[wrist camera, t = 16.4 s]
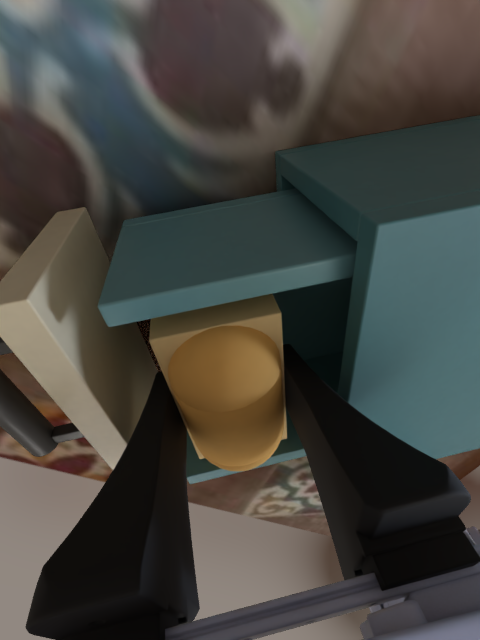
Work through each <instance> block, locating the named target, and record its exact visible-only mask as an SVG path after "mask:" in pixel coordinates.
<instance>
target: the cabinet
mask: <svg viewBox="0 0 480 640" xmlns="http://www.w3.org/2000/svg"><path fill="white" fill-rule="evenodd" d="M275 161H276V184H277V192H278V191H284V190H289V189H294V188H297V189H298V190H299V191H300V192H301V193H302V194H303V195H305V196H306V197H307V198H308V199H309V200H310V201H311V202H312V203H314V204H315V205H316V206H317V207H318V208H319V209H320V210H321V211H323V212H324V213H325V214H326V215H327V216H328V217H329V218H330V219H332V220H333V221H334V222H335V223H336V224H337V225H338V226H340V227H341V228H342V229H343V230H344V231H345V232H346V233H347V234H349V235H350V236H351V237H352V238H353V239H354V240H355V241H358V243H357V250H356V258H355V266H354V273H353V281H352V289H351V296H350V304H349V312H348V319H347V327H346V335H345V342H344V350H343V358H342V365H341V373H340V381H339V388H338V395H339V396H341V397H342V398H343V399H344V400H345V401H347V402H348V403H349V404H350V405H351V406H353V407H354V408H355V409H357V410H358V411H359V412H361V413H362V414H363V415H365V416H366V417H367V418H369V419H370V420H371V421H373V422H374V423H376V424H377V425H379V426H380V427H382V428H383V429H385V430H387V431H388V432H390V433H391V434H393V435H394V436H396V437H397V438H399V439H401V440H402V441H404V442H406V443H407V444H409V445H411V446H412V447H414V448H416V449H418V450H419V451H421V452H423V453H425V454H427V455H428V456H430V457H432V458H434V459H438V458H442V457H446V456H450V455H454V454H458V453H462V452H466V451H470V450H474V449H478V448H480V115H478V116H472V117H466V118H461V119H455V120H449V121H444V122H438V123H433V124H427V125H421V126H416V127H410V128H404V129H399V130H393V131H388V132H382V133H376V134H371V135H365V136H359V137H354V138H348V139H343V140H337V141H331V142H326V143H320V144H315V145H309V146H303V147H298V148H292V149H286V150H281V151H276V152H275Z"/></svg>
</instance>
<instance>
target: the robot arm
mask: <svg viewBox="0 0 480 640" xmlns="http://www.w3.org/2000/svg"><path fill="white" fill-rule="evenodd" d="M283 356H284V378H285V400H286V408H287V410H288V413H289V415H290V417H291V420H292V422H293V424H294V427H295V429H296V431H297V434H298V436H299V438H300V441H301V443H302V445H303V448H304V450H305V453H306V456H307V458H308V461H309V464H310V467H311V471H312V474H313V477H314V480H315V483H316V486H317V489H318V492H319V496H320V499H321V502H322V505H323V509H324V512H325V515H326V519H327V522H328V525H329V528H330V532H331V535H332V539H333V542H334V546H335V549H336V553H337V556H338V559H339V563H340V566H341V570H342V574H343V577H344V581H341V582H337V583H334V584H330V585H326V586H322V587H318V588H315V589H311V590H307V591H304V592H300V593H296V594H292V595H289V596H285V597H281V598H278V599H274V600H270V601H267V602H263V603H259V604H256V605H252V606H248V607H244V608H241V609H237V610H234V611H230V612H226V613H222V614H219V615H215V616H211V617H208V618H204V619H200V620H196V621H193V620H194V619H195V617H196V615H197V613H198V611H199V609H200V608H199V600H198V593H197V584H196V575H195V568H194V558H193V549H192V540H191V529H190V519H189V509H188V496H187V479H186V466H187V429H186V426H185V424H184V422H183V419H182V417H181V415H180V412H179V410H178V408H177V405H176V403H175V401H174V398H173V396H172V394H171V391H170V389H169V387H168V384H167V382H166V380H165V377H164V375H163V373H162V371H161V372H157V374H156V375H155V379H154V382H153V385H152V388H151V391H150V394H149V396H148V399H147V402H146V404H145V407H144V409H143V411H142V414H141V416H140V419H139V421H138V423H137V425H136V428H135V430H134V432H133V434H132V436H131V438H130V440H129V442H128V444H127V446H126V448H125V450H124V452H123V454H122V456H121V457H120V459H119V461H118V463H117V464H116V466H115V468H114V470H113V471H112V473H111V475H110V476H109V478H108V479H107V481H106V483H105V484H104V486H103V487H102V489H101V491H100V492H99V494H98V495H97V497H96V498H95V499H94V501H93V502H92V504H91V505H90V506H89V508H88V509H87V511H86V512H85V513H84V515H83V516H82V518H81V519H80V520H79V522H78V523H77V525H76V526H75V527H74V529H73V530H72V531H71V533H70V534H69V535H68V536H67V538H66V539H65V540H64V541H63V543H62V544H61V545H60V546H59V548H58V549H57V550H56V551H55V552H54V554H53V555H52V556H51V557H50V559H49V560H48V561H47V562H46V564H45V565H44V566H43V568H42V572H41V575H40V577H39V580H38V583H37V586H36V589H35V593H34V596H33V600H32V604H31V608H30V612H29V616H28V619H27V624H26V629H27V631H28V632H29V633H30V634H33V635H36V636H41V637H46V638H50V639H55V640H253V639H257V638H260V637H264V636H268V635H271V634H275V633H278V632H282V631H286V630H289V629H293V628H296V627H300V626H304V625H307V624H311V623H314V622H318V621H322V620H325V619H329V618H332V617H336V616H340V615H343V614H347V613H350V612H354V611H358V610H361V609H365V608H368V607H369V609H370V611H371V614H368V616H367V620H366V621H365V622H363V623H361V625H360V629H361V632H362V635H363V638H364V639H363V640H480V530H477V528H476V527H474V526H472V527H470V528H467V530H466V528H465V525H464V524H463V522H462V521H461V519H460V518H459V515H460V514H461V512H462V511H463V510H464V509H465V508H466V507H467V506H468V504H469V503H470V500H471V496H470V494H469V492H468V491H467V490H466V488H465V487H464V485H463V484H462V483H461V481H460V480H459V479H458V478H457V477H456V475H455V474H454V473H453V472H452V471H451V470H450V469H449V467H448V466H447V465H446V464H444V463H442V462H440V461H438V460H436V459H434V458H432V457H430V456H428V455H427V454H425V453H423V452H421V451H419V450H418V449H416V448H414V447H412V446H411V445H409V444H407V443H406V442H404V441H402V440H401V439H399V438H397V437H396V436H394V435H393V434H391V433H390V432H388V431H387V430H385V429H383V428H382V427H380V426H379V425H377V424H376V423H374V422H373V421H371V420H370V419H369V418H367V417H366V416H365V415H363V414H362V413H361V412H359V411H358V410H357V409H355V408H354V407H353V406H351V405H350V404H349V403H348V402H347V401H345V400H344V399H343V398H342V397H341V396H339V395H338V394H337V393H336V392H335V391H334V390H333V389H332V388H330V387H329V386H328V385H327V384H326V383H325V382H324V381H323V380H322V379H321V378H320V377H319V376H318V375H317V374H316V373H315V372H314V371H313V370H312V369H311V368H310V367H309V366H308V364H307V363H306V362H305V361H304V360H303V359H302V358H301V357H300V355H299V354H298V353H297V352H296V351H295V349H294V348H293V347H292V345H290V344H284V345H283ZM467 531H468V532H467ZM469 534H470V535H469ZM470 536H471V537H470ZM472 539H473V540H472ZM192 621H193V622H192Z"/></svg>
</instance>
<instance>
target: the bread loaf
mask: <svg viewBox="0 0 480 640" xmlns="http://www.w3.org/2000/svg"><path fill="white" fill-rule="evenodd" d="M149 342H150V344H151V347H152V349H153V352H154V354H155V356H156V359H157V361H158V363H159V366H160V368H161V370H162V373H163V375H164V377H165V380H166V382H167V384H168V387H169V389H170V391H171V394H172V396H173V398H174V401H175V403H176V405H177V408H178V410H179V412H180V415H181V417H182V419H183V422H184V424H185V426H186V429H187V431H188V433H189V436H190V438H191V440H192V443H193V445H194V447H195V450H196V452H197V454H198V457H199V459H203V458H206V459H207V460H208V461H209V462H210V463H212V464H214V465H216V466H217V467H219V468H221V469H225V470H228V471H246V470H250V469H253V468H256V467H258V466H259V465H261V464H263V463H264V462H265V461H267V460H268V459H269V458H270V457H271V456H272V454H273V453H274V452H275V450H276V449H277V447H278V445H279V443H280V441H281V440H283V439H287V421H286V400H285V378H284V356H283V334H282V313H281V311H280V309H279V307H278V305H277V303H276V300H275V298H274V296H273V294H268V295H263V296H258V297H254V298H249V299H244V300H239V301H234V302H230V303H225V304H220V305H215V306H210V307H205V308H201V309H196V310H191V311H186V312H181V313H176V314H172V315H167V316H162V317H157V318H152V319H151V322H150V336H149Z"/></svg>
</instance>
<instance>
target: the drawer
mask: <svg viewBox="0 0 480 640" xmlns="http://www.w3.org/2000/svg"><path fill="white" fill-rule="evenodd" d="M357 243H358V241H355V240H354V239H353V238H352V237H351V236H350V235H349V234H347V233H346V232H345V231H344V230H343V229H342V228H341V227H340V226H338V225H337V224H336V223H335V222H334V221H333V220H332V219H330V218H329V217H328V216H327V215H326V214H325V213H324V212H323V211H321V210H320V209H319V208H318V207H317V206H316V205H315V204H314V203H312V202H311V201H310V200H309V199H308V198H307V197H306V196H305V195H303V194H302V193H301V192H300V191H299V190H298V189H297V188H294V189H289V190H284V191H278V192H273V193H268V194H262V195H257V196H252V197H246V198H241V199H235V200H230V201H225V202H219V203H214V204H209V205H203V206H198V207H192V208H187V209H182V210H176V211H171V212H166V213H160V214H155V215H150V216H144V217H139V218H133V219H128V220H124V221H123V224H122V228H121V231H120V234H119V237H118V241H117V244H116V247H115V250H114V254H113V257H112V260H111V263H110V261H109V259H108V257H107V255H106V252H105V250H104V248H103V245H102V243H101V241H100V239H99V236H98V234H97V232H96V230H95V227H94V225H93V223H92V220H91V218H90V216H89V214H88V211H87V209H86V208H85V207H82V208H77V209H71V210H66V211H60V212H57V213H56V214H55V215H54V216H53V217H52V219H51V220H50V221H49V222H48V224H47V225H46V226H45V227H44V228H43V230H42V231H41V232H40V233H39V235H38V236H37V237H36V238H35V239H34V241H33V242H32V243H31V244H30V246H29V247H28V248H27V249H26V250H25V252H24V253H23V254H22V255H21V257H20V258H19V259H18V260H17V262H16V263H15V264H14V265H13V266H12V268H11V269H10V270H9V271H8V273H7V274H6V275H5V276H4V277H3V279H2V280H1V281H0V355H3V354H8V353H14V354H15V355H16V356H17V357H18V358H19V360H20V361H21V362H22V363H23V364H24V366H25V367H26V368H27V369H28V370H29V372H30V373H31V374H32V375H33V376H34V377H35V379H36V380H37V381H38V382H39V383H40V385H41V386H42V387H43V388H44V389H45V391H46V392H47V393H48V394H49V395H50V396H51V398H52V399H53V400H54V401H55V402H56V404H57V405H58V406H59V407H60V408H61V410H62V411H63V412H64V413H65V414H66V415H67V417H68V418H69V419H70V420H71V421H72V423H70V424H65V425H61V426H56V427H53V425H52V424H51V423H50V422H49V421H48V420H47V419H46V418H45V417H44V416H43V415H42V414H41V413H40V411H39V410H38V409H37V408H36V407H35V406H34V405H33V404H32V403H31V402H30V401H29V400H28V398H27V397H26V396H25V395H24V394H23V393H22V392H21V391H20V390H19V389H18V388H17V387H16V386H15V384H14V383H13V382H12V381H11V380H10V379H9V378H8V377H7V376H6V375H5V374H4V373H3V371H2V370H1V369H0V426H1V427H2V428H3V429H4V430H5V431H6V432H7V433H9V434H10V435H11V436H12V437H13V438H14V439H15V440H16V441H18V442H19V443H20V444H21V445H22V446H23V447H24V448H25V449H27V450H28V451H29V452H30V453H31V454H32V455H34V456H37V457H40V456H44V455H46V454H48V453H50V452H51V451H53V450H54V449H55V448H56V446H57V445H58V443H60V442H65V441H69V440H73V439H78V438H82V437H85V438H86V439H87V440H88V442H89V443H90V444H91V445H92V446H93V448H94V449H95V450H96V451H97V452H98V453H99V455H100V456H101V457H102V458H103V459H104V461H105V462H106V463H107V464H108V465H109V467H110V468H111V469H112V470H114V468H115V466H116V464H117V463H118V461H119V459H120V457H121V456H122V454H123V452H124V450H125V448H126V446H127V444H128V442H129V440H130V438H131V436H132V434H133V432H134V430H135V428H136V425H137V423H138V421H139V419H140V416H141V414H142V411H143V409H144V407H145V404H146V402H147V399H148V396H149V394H150V391H151V388H152V385H153V382H154V379H155V375H156V374H157V372H158V370H157V368H156V366H155V364H154V361H153V359H152V357H151V354H150V352H149V350H148V348H147V345H146V343H145V341H144V339H143V336H142V334H141V332H140V329H139V327H138V325H137V323H136V322H138V321H143V320H148V319H152V318H157V317H162V316H167V315H172V314H176V313H181V312H186V311H191V310H196V309H201V308H205V307H210V306H215V305H220V304H225V303H230V302H234V301H239V300H244V299H249V298H254V297H258V296H263V295H268V294H273V296H274V298H275V300H276V303H277V305H278V307H279V309H280V311H281V313H282V334H283V345H284V344H290V345H292V347H293V348H294V349H295V351H296V352H297V353H298V354H299V355H300V357H301V358H302V359H303V360H304V361H305V362H306V363H307V364H308V366H309V367H310V368H311V369H312V370H313V371H314V372H315V373H316V374H317V375H318V376H319V377H320V378H321V379H322V380H323V381H324V382H325V383H326V384H327V385H328V386H329V387H330V388H332V389H333V390H334V391H335V392H336V393H337V394H338V388H339V381H340V373H341V365H342V358H343V350H344V342H345V335H346V327H347V319H348V312H349V304H350V296H351V289H352V281H353V273H354V266H355V258H356V250H357ZM286 421H287V439H283V440H281V441H280V443H279V445H278V447H277V449H276V450H275V452H274V453H273V454H272V456H271V457H270V458H269V459H268V460H267V461H265V462H264V463H263V464H261V465H259V466H258V467H256V468H259V467H263V466H267V465H271V464H276V463H280V462H284V461H288V460H292V459H296V458H300V457H304V456H306V453H305V450H304V448H303V445H302V443H301V441H300V438H299V436H298V434H297V431H296V429H295V427H294V424H293V422H292V420H291V417H290V415H289V413H288V410H287V408H286ZM253 469H255V468H253ZM250 470H251V469H250ZM246 471H247V470H246ZM239 472H243V471H228V470H225V469H221V468H219V467H217V466H216V465H214V464H212V463H210V462H209V461H208V460H207V459H206V458H203V459H199V457H198V454H197V452H196V450H195V447H194V445H193V443H192V440H191V438H190V436H189V433H188V431H187V466H186V478H187V480H188V482H189V483H190V484H193V483H197V482H201V481H206V480H210V479H214V478H218V477H222V476H226V475H230V474H234V473H239Z"/></svg>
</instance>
